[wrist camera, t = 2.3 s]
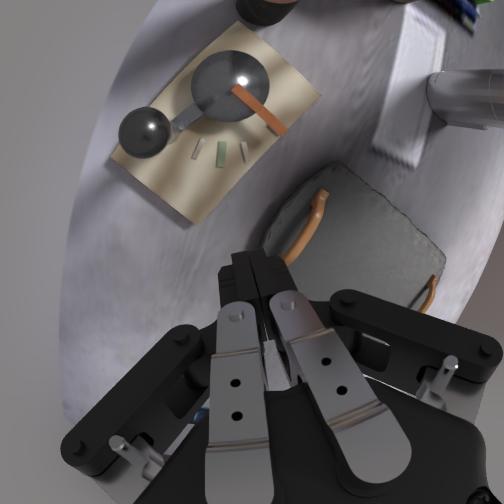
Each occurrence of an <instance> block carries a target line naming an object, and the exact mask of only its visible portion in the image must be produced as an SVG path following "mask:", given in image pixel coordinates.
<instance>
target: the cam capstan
mask: <svg viewBox="0 0 504 504" xmlns="http://www.w3.org/2000/svg"><path fill="white" fill-rule="evenodd" d="M269 90H270V82H269V77H268V74H267V72H266V70H265V68H264V66H263V65H262V64H261V63H260V62H259V61H258V60H257V59H256V58H254V57H253V56H251V55H249V54H247V53H245V52H241V51H236V50H225V51H220V52H217V53H214V54H212V55H210V56H208V57H207V58H205V59H204V60H203V61H202V62H201V63H200V64H199V65H198V66H197V68H196V69H195V71H194V73H193V76H192V80H191V93H192V97H193V99H194V103H193V104H191V105H190V106H189V107H188V108H186V109H185V110H184V111H182V112H181V113H180V114H179V115H177V116H176V117H175V118H174V119H173V120H171V121H169V120H168V119H167V117H166V116H165V114H163V113H162V112H161V111H160V110H158V109H155V108H152V107H141V108H138V109H135V110H133V111H132V112H130V113H129V114H128V115H127V116H126V117H125V118H124V119H123V121H122V123H121V125H120V127H119V132H118V138H119V143H120V145H121V147H122V149H123V150H124V151H125V152H126V153H127V154H128V155H130V156H131V157H134V158H137V159H148V158H152V157H154V156H156V155H158V154H159V153H160V152H162V151H163V150H164V148H165V147H166V146H167V145H170V144H173V143H174V142H176V141H177V139H178V138H179V135H180V133H182V132H183V131H184V130H185V129H187V128H188V127H189V126H190V125H192V124H193V123H194V122H195V121H197V120H198V119H199V118H200V117H202V116H203V115H206V116H207V117H209V118H211V119H213V120H215V121H219V122H225V123H231V122H237V121H241V120H244V119H247V118H249V117H251V116H252V115H254V114H255V113H256V114H257V115H258V116H259V117H260V118H261V119H262V120H263V121H265V122H266V123H267V124H268V125H269V126H270V127H271V128H272V129H273V130H274V131H275V132H276V133H277V134H278V135H279V136H280V137H282V136H283V135H284V134H285V133H286V132H287V131H288V130H289V129H288V128H287V127H286V126H285V125H283V124H282V123H281V122H280V121H279V120H278V119H277V118H276V117H275V116H274V115H273V114H272V113H271V112H270V111H269V110H268V109H267V108H266V107H264V106H263V105H264V104H265V102H266V100H267V98H268V95H269Z"/></svg>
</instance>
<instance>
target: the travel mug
mask: <svg viewBox="0 0 504 504" xmlns="http://www.w3.org/2000/svg"><path fill="white" fill-rule="evenodd" d="M299 1H300V0H236V9H237V11H238V13H239V14H240V16H241V17H242V18H243V19H245V20H246V21H248V22H250V23H252V24H255V25H261V26H267V25H272V24H275V23H278V22H279V21H281V20H282V19H283V18H284V17H285V16H286V15H287V14H288V13H289V12H290V11H291V10H292V9H293V7H294V6H295V5H296V4H297V3H298V2H299Z"/></svg>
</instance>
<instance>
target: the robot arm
mask: <svg viewBox="0 0 504 504" xmlns="http://www.w3.org/2000/svg"><path fill="white" fill-rule="evenodd" d="M427 96H428V100H429V103H430V106H431V108H432V110H433V111H434V113H435V114H436V115H437V116H438V117H439V118H440V119H442V120H444V121H446V123H447V125H450V126H458V127H466V128H473V129H479V130H487V129H488V128H489V126H490V127H496V128H502V129H504V69H481V70H459V71H443V72H436V73H434V74H432V75H431V76H430V78H429V80H428V83H427ZM248 256H249V259H248ZM231 257H232V263H233V264H232V265H228V266H223V267H221V269H220V271H219V273H218V281H219V294H220V305H221V309H220V311H219V312H218V315H217V320H216V321H215V322H214V323H212V324H211V325H209V326H207V327H205V328H203V329H200V330H198V328H197V327H195V326H193V325H189V324H184V325H179V326H176V327H174V328H172V329H171V330H169V331H168V332H167V333H166V334H165V335H164V336H163V337H162V338H161V339H160V340H159V341H158V342H157V343H156V344H155V345H154V346H153V347H152V348H151V349H150V350H149V351H148V352H147V353H146V354H145V355H144V356H143V357H142V358H141V360H140V361H139V362H138V363H137V364H136V365H135V366H134V367H133V368H132V369H131V370H130V371H129V372H128V373H127V374H126V375H125V376H124V377H123V378H122V379H121V380H120V381H119V382H118V383H117V384H116V385H115V386H114V387H113V388H112V389H111V390H110V391H109V392H108V393H107V394H106V395H105V396H104V397H103V398H102V399H101V400H100V401H99V402H98V403H97V404H96V405H95V406H94V407H93V408H92V409H91V410H90V411H89V412H88V413H87V414H86V415H85V416H84V417H83V418H82V419H81V420H80V421H79V422H78V423H77V424H76V425H75V427H74V428H73V429H72V430H71V431H70V432H69V433H68V434H67V435H66V436H65V437H64V439H63V440H62V443H61V448H60V449H61V455H62V457H63V459H64V461H65V462H66V463H67V464H69V465H70V466H72V467H74V468H75V469H77V470H79V471H80V472H81V473H82V474H84V475H85V476H87V477H89V478H91V479H92V480H94V481H95V482H96V483H97V484H98V485H99V486H100V487H101V488H102V489H103V490H104V491H105V492H106V493H107V494H108V495H109V496H110V497H111V498H112V499H113V500H114V501H115V502H116V503H117V504H502V503H501V502H500V501H499V500H498V499H497V498H496V497H495V496H494V495H493V494H492V492H491V491H490V489H489V486H488V483H487V477H486V447H485V441H484V438H483V436H482V434H481V432H480V431H479V430H478V428H477V427H476V426H475V425H474V422H475V419H476V416H477V413H478V410H479V406H480V403H481V400H482V396H483V392H484V388H485V385H486V383H487V381H488V380H489V378H490V377H491V376H492V374H493V373H494V371H495V370H496V368H497V366H498V365H499V363H500V362H501V360H502V357H503V350H502V347H501V345H500V344H499V342H497V340H495V339H494V338H492V337H490V336H488V335H485V334H482V333H479V332H476V331H473V330H470V329H467V328H464V327H461V326H459V325H456V324H453V323H450V322H447V321H444V320H441V319H438V318H435V317H432V316H430V315H427V314H424V313H421V312H418V311H415V310H412V309H409V308H406V307H403V306H400V305H398V304H395V303H392V302H389V301H386V300H383V299H380V298H377V297H374V296H372V295H369V294H366V293H363V292H360V291H357V290H353V289H343V290H339V291H337V292H335V293H334V294H333V295H332V296H331V297H330V301H312V300H308V299H307V298H306V296H305V295H304V294H302V293H301V292H299V291H298V289H297V287H296V285H295V282H294V280H293V278H292V276H291V274H290V272H289V270H288V268H287V265H286V263H285V261H284V260H283V259H282V258H280V257H279V256H277V255H274V256H269V257H267V256H266V253H265V250H264V248H263V247H261V248H256V249H251V250H248V255H247V251H242V252H237V253H233V254H231ZM249 261H250V262H249ZM263 320H264V321H263ZM264 324H265V326H264ZM265 328H266V332H267V335H268V339H269V340H272V339H274V340H275V344H276V349H277V354H278V357H279V359H280V362H281V364H282V367H283V369H284V372H285V375H286V377H287V380H288V382H289V385H290V387H291V388H289V389H287V390H284V391H269V385H268V378H267V371H266V363H265V357H264V353H265V348H264V343H263V342H264V341H267V337H266V332H265ZM363 333H364V334H367V335H369V336H372V337H374V338H377V339H379V340H382V341H384V342H386V343H387V344H389V346H388V345H385V344H383V343H380V342H378V341H375V340H373V339H370V338H368V337H365V336H363ZM362 373H363V374H365V375H368V376H370V377H372V378H374V379H377V380H379V381H381V382H384V383H386V384H388V385H391V386H393V387H395V388H398V389H400V390H402V391H405V392H407V393H410V394H412V395H415V396H416V398H417V399H415V398H413V397H411V396H409V395H407V394H405V393H402V392H400V391H398V390H396V389H394V388H392V387H389V386H387V385H385V384H383V383H381V382H379V381H377V380H374V379H371V378H368V377H364V376H363V374H362ZM209 397H210V406H209V412H208V413H207V414H205V415H204V416H203V417H202V418H201V419H200V420H199V421H198V422H197V423H196V424H195V425H194V426H193V428H192V429H191V430H190V432H189V433H188V434H187V436H186V437H185V438H184V440H183V441H182V442H181V444H180V445H179V446H178V448H177V449H176V450H175V452H174V453H173V454H172V456H171V457H170V458H169V459H168V461H167V462H166V463H165V465H164V466H163V458H162V455H163V453H164V452H165V451H166V450H167V449H168V447H169V446H170V445H171V444H172V443H173V441H174V440H175V439H176V438H177V437H178V435H179V434H180V433H181V432H182V431H183V429H184V428H185V427H186V426H187V424H188V423H189V422H190V421H191V419H192V418H193V417H194V416H195V414H196V413H197V412H198V411H199V409H200V408H201V407H202V406H203V404H204V403H205V402H206V400H207V399H208V398H209Z"/></svg>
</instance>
